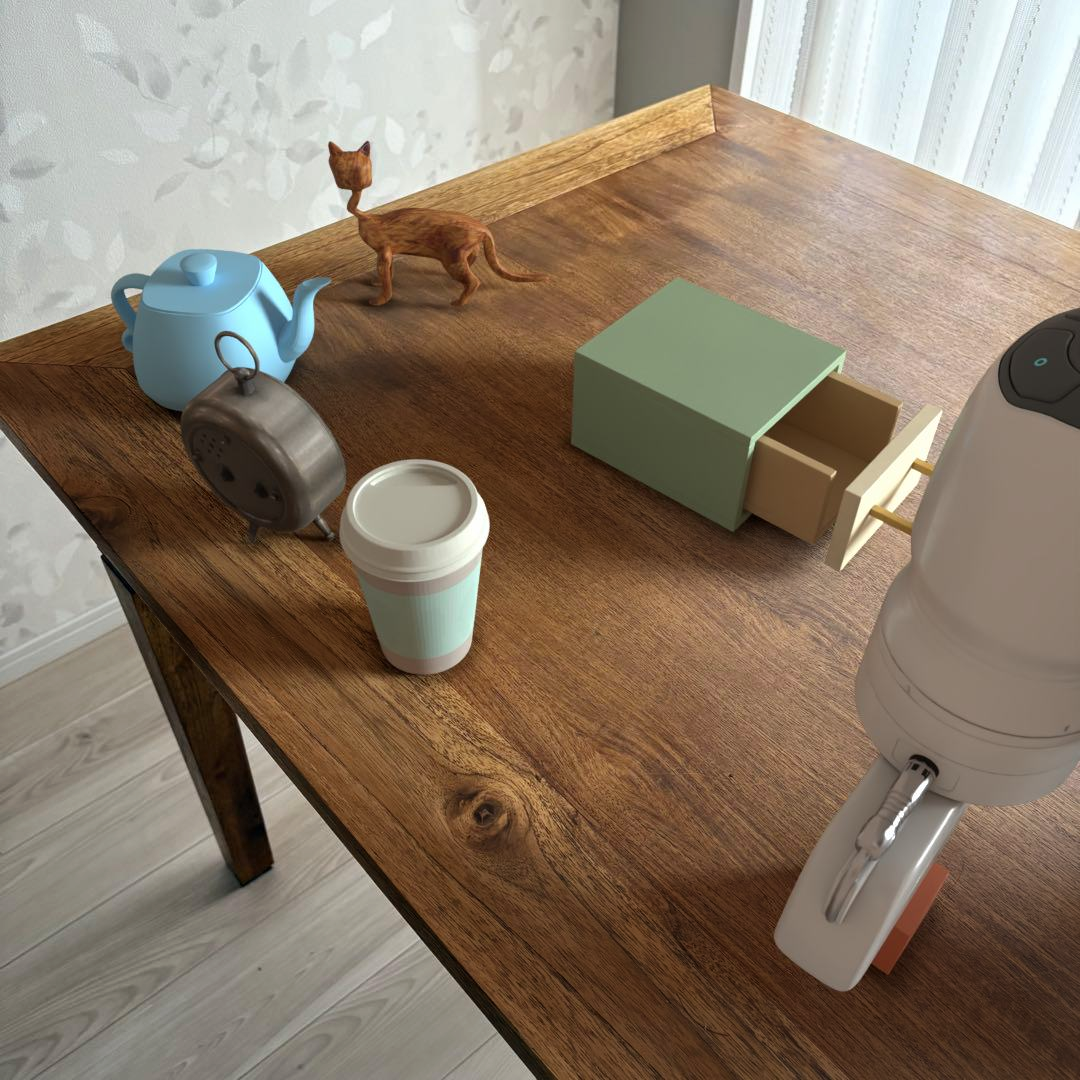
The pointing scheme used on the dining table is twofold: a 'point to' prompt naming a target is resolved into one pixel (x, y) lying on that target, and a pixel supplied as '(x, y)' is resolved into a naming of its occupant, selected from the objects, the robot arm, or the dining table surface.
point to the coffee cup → (417, 559)
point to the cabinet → (692, 393)
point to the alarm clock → (263, 449)
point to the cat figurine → (417, 232)
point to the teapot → (211, 321)
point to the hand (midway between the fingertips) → (889, 861)
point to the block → (910, 919)
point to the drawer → (839, 465)
